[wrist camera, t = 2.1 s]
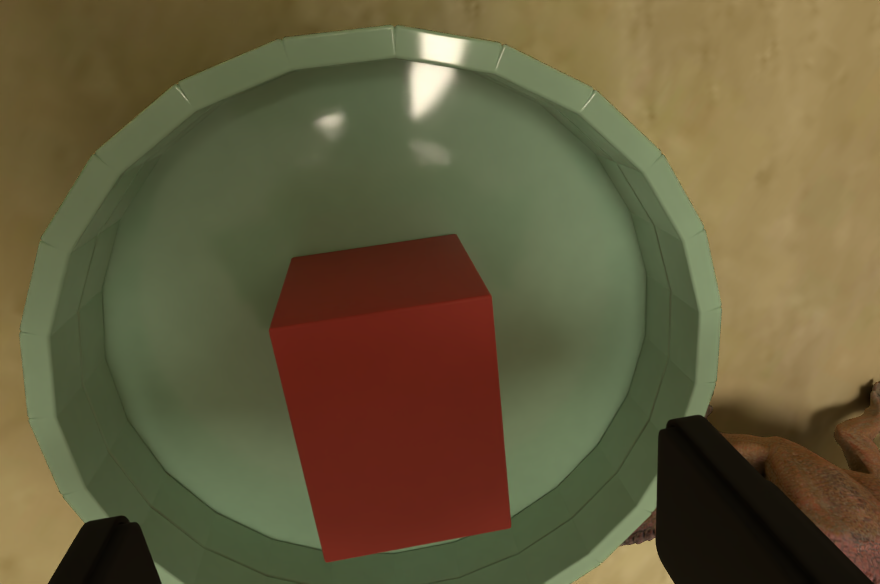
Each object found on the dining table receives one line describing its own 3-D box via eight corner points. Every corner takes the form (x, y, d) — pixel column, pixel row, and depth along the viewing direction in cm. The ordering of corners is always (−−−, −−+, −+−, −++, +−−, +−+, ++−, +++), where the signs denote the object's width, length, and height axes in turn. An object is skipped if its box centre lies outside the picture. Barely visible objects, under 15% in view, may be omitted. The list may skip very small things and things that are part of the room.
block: (291, 257, 16) (267, 329, 11) (456, 232, 16) (492, 294, 12) (331, 446, 18) (325, 564, 14) (476, 421, 18) (512, 529, 14)
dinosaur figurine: (963, 382, 21) (1381, 606, 12) (896, 516, 23) (1216, 788, 14) (597, 357, 19) (802, 611, 10) (558, 509, 21) (702, 828, 12)
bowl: (-22, 401, 17) (-114, 485, 13) (315, -129, 13) (302, -190, 10) (434, 617, 22) (448, 714, 19) (760, 277, 18) (846, 325, 15)
